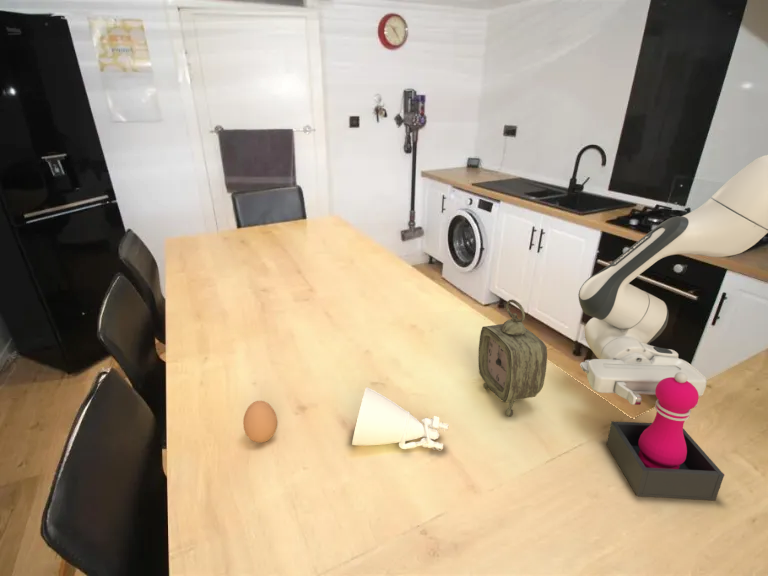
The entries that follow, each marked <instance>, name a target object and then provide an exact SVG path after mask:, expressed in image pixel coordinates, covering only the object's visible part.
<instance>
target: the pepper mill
mask: <svg viewBox="0 0 768 576" xmlns="http://www.w3.org/2000/svg"><path fill="white" fill-rule="evenodd" d="M687 379H688V378H687V375H686V374H685V373H682V372H678V373H676V374H675V377H669V378H665V379H663V380H661V381H660V382H659V383H658V384H657V386H656V389H655V394H656V395H655V396H656V400H655V405H654V409H655V411H656V413H655V414H656V415H655V417H654V420H653V421H652V422H651V423H652V424H651V425H650V426H649V427H648V428H646V429H645V430H644V431H643V433H642V434H641V435H640V438H639V441H638V445H639V448H640V451H639V454H638V456H639V458H640V459H641V461H642V462H643V464H644V465H645V467H646V468H665V469H679V465H680V464H682V463H684V461H685V460H686V455H687V446H686V442H685V439H684V435H683V429H684V424H685V421H688V420H689V419H690V417H691V413H692V409H694V408H696V407H695V406H696V405H697V406H698V404H697V403H699V399H700V396H698V391H697V390H696V388H695V387H694V386H693V385H692V384H691V383H690V382H688V381H687Z"/></svg>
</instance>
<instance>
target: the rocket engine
mask: <svg viewBox="0 0 768 576" xmlns="http://www.w3.org/2000/svg"><path fill="white" fill-rule="evenodd" d="M420 421H421V422H420ZM439 428H440V429H439ZM437 429H438V430H437ZM439 430H443V432H446V431H448V430H449V423H444V422H443V421H440V417H439V416H436V415H433V417H432V418H429V417H424V418H421V420H419V419H418V418H416V417H415V416H414V415H413V414H411V412H410V411H409V410H406V409H405V408H403V407H401V406H400V405H398V404H397V403H396V402H394V401H393V400H391V399H390V398H388V397H386V396H385V395H383V394H381V393H379V392H378V391H377V390H374V389H372V388H370V387H368V386H366V387H365V389H364V392H363V395H362V399H361V403H360V407H359V411H358V414H357V419H356V423H355V427H354V432H353V436H352V441H351V445H352V446H360V447H361V446H381V445H390V444H397V443H398V447H399V448H400V449H402V450H409V449H414V448H416V447H423V448H428V449H433V451H435V450H438V451H443V449H444V443H442V442H441V443H440V441H435V440H437V439H439V438H440V433H439ZM420 438H421V439H420ZM418 439H420V441H419V440H418ZM414 440H418V441H414ZM408 441H409V442H408ZM406 442H407V443H406Z"/></svg>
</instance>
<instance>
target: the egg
mask: <svg viewBox="0 0 768 576" xmlns="http://www.w3.org/2000/svg"><path fill="white" fill-rule="evenodd" d="M242 421H243V430H244V433H245V435H246V436H247V438H248V439H249V440H251V441H253V442H254V443H265V442H268V441H269V440H271V439H272V437H273V436H274V435H275V433H276V431H277V427H278V417H277V414H276V411H275V409H274V408H273V407H272V405H270V404H269V403H268V402H267V401H265V400H256V401H253V402H252V403H251V404H249V405H248V406H247V409H246V410H245V413H244V416H243V420H242Z"/></svg>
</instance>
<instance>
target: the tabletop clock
mask: <svg viewBox="0 0 768 576" xmlns="http://www.w3.org/2000/svg"><path fill="white" fill-rule="evenodd" d="M510 303H512V304H514V305H516V306H517V307H518V308H519V310H520V312H521V315H522V318H518V313H516V312H513V313H512V312H511V311H510V308H509V304H510ZM505 308H506V309H505V310H506V312H507V314H508V315H509V317H510V318H509V319H507V320H505V322H504V323H500V324H499V323H498V324H492V325H485V326H482V327H481V330H480V334H479V342H478V358H477V359H478V373H479V375H480V377H481V379H482V381H483V382H484V383H483V384H482V386H483V389H485V390H488V389H489V390H490V391H491V392H492V393H493V394H494V395H495V396H496V397H497V398H498V399H499V400H500V401H502V402H504V403H507V402H509V406H508V408H507V409H505V415H506V416H508V417H512V416H513V415H514V410H513V405H514V402H515V401H519V400H525V399H530V398H534V397H537V395H538V394H539V393H540V392H541V391H542V389H543V387H544V384H545V379H546V374H547V373H546V372H547V364H548V347H547V345H546V343H545V342H544V341H543V340H542V339H541V338H540V337H539V336H537V335H536V334H534V332H532V331H530V330H529V329H527V328H526V326H525V324H524V323H523V322H524V321H525V318H526V313H525V309H524V307H523V306H522V305H521V303H520V302H518V301H517V300H515V299H509V300H507V301H506V304H505Z"/></svg>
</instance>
